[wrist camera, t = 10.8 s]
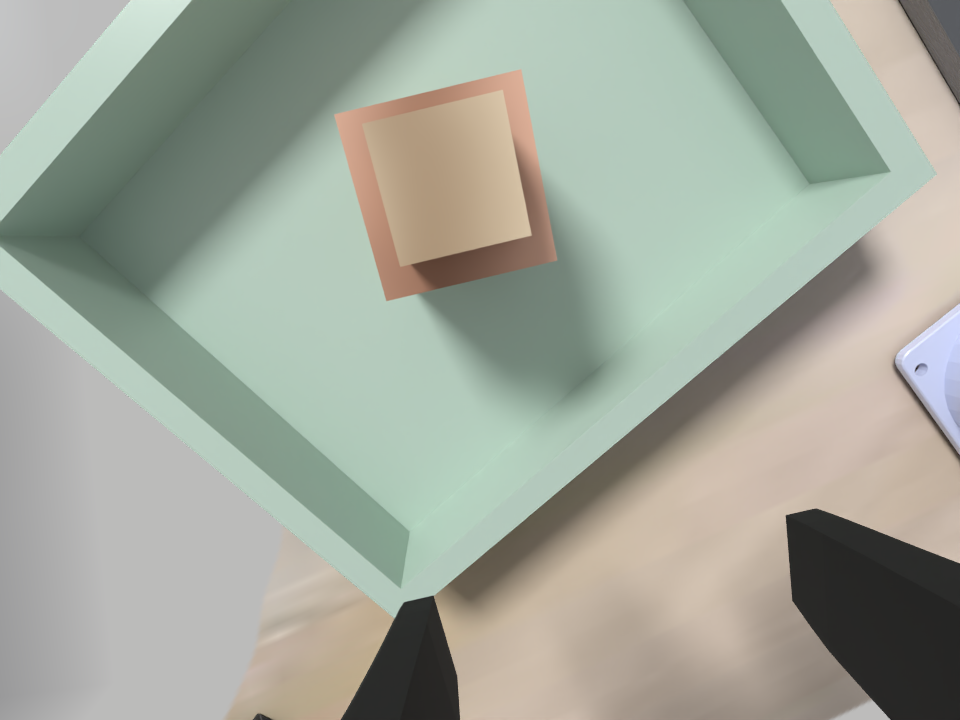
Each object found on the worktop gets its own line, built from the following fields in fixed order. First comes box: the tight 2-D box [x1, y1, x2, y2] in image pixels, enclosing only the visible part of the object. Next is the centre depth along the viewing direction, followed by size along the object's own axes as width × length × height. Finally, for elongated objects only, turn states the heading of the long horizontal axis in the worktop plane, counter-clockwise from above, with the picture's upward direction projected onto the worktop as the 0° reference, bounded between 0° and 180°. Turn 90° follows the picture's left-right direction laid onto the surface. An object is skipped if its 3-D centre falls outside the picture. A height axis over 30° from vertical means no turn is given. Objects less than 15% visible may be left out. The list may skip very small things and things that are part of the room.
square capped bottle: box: [334, 69, 557, 301], centre depth 14 cm, size 4×4×8 cm
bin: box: [0, 0, 937, 618], centre depth 16 cm, size 18×22×4 cm
